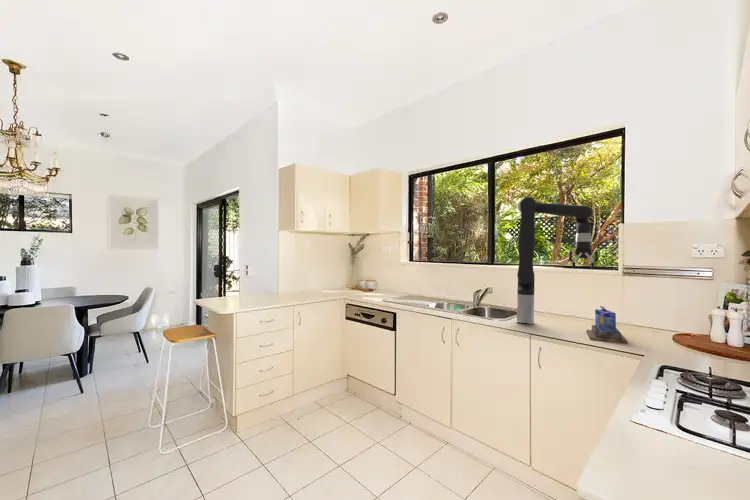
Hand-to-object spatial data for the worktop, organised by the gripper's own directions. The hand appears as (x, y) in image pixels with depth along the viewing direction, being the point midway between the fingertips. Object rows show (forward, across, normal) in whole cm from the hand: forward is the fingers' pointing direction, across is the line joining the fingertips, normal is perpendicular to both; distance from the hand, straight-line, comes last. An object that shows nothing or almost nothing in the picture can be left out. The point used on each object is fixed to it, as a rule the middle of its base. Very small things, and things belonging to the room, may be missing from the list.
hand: (583, 268), depth 195 cm
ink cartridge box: (+32, +8, -25) cm, 41 cm away
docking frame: (+33, +8, -25) cm, 42 cm away
